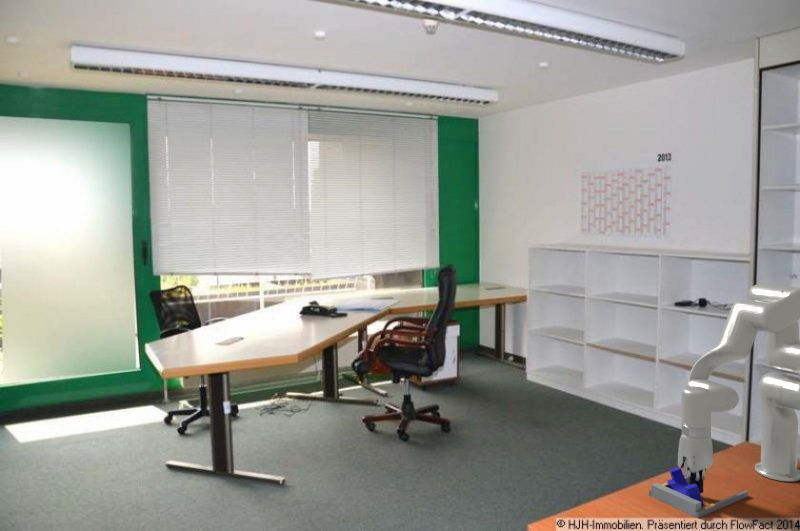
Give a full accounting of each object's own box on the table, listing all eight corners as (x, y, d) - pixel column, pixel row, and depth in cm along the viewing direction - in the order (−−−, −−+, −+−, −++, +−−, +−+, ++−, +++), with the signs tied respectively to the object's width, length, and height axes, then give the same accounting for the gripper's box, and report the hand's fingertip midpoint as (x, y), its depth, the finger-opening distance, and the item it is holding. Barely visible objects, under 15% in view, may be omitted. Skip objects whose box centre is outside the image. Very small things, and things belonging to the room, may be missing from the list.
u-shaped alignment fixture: (698, 476, 186) (698, 465, 186) (748, 496, 172) (748, 484, 172) (648, 495, 175) (648, 483, 175) (698, 518, 161) (698, 505, 161)
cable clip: (670, 489, 178) (664, 471, 178) (684, 484, 178) (678, 466, 177) (688, 510, 166) (681, 491, 166) (704, 505, 166) (697, 485, 165)
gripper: (700, 420, 178) (700, 479, 180) (667, 432, 171) (668, 493, 173) (724, 428, 172) (724, 489, 173) (691, 440, 164) (692, 504, 166)
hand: (696, 491), depth 173 cm, fingers closed
